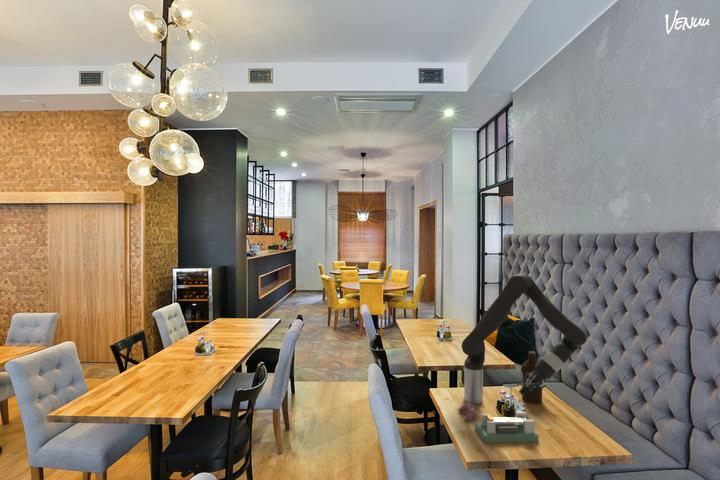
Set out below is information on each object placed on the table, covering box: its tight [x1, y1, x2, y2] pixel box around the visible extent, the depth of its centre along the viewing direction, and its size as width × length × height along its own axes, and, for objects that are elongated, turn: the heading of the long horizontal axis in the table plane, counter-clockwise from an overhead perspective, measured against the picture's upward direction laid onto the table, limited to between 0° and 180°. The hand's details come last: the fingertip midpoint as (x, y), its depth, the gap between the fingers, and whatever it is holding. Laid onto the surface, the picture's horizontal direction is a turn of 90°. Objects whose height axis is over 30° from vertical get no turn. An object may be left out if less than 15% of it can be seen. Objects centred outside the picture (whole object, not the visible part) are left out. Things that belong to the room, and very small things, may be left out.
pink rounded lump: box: [458, 402, 477, 422], centre depth 173 cm, size 10×5×7 cm, turn 1°
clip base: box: [474, 411, 539, 444], centre depth 157 cm, size 11×22×8 cm, turn 92°
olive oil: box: [520, 350, 543, 404], centre depth 192 cm, size 11×11×25 cm
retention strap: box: [486, 414, 527, 425], centre depth 157 cm, size 5×17×2 cm, turn 92°
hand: (521, 393), depth 157 cm, fingers closed
